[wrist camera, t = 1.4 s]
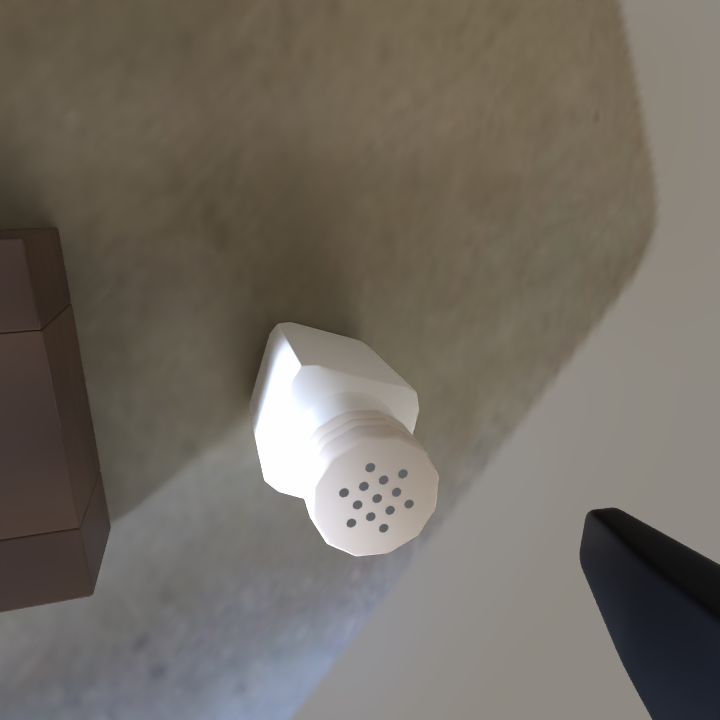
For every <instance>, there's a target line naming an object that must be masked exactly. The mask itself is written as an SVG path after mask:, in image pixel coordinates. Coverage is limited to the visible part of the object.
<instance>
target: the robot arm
mask: <svg viewBox="0 0 720 720" xmlns="http://www.w3.org/2000/svg"><path fill="white" fill-rule="evenodd" d="M580 563H581V566H582V569H583V571H584V574H585V576H586V579H587V581H588V584H589V586H590V588H591V591H592V593H593V596H594V598H595V600H596V603H597V605H598V607H599V610H600V612H601V614H602V617H603V619H604V622H605V624H606V626H607V629H608V631H609V633H610V636H611V638H612V640H613V643H614V645H615V648H616V650H617V652H618V654H619V656H620V659H621V661H622V663H623V665H624V667H625V669H626V671H627V673H628V675H629V677H630V679H631V681H632V683H633V685H634V686H635V688H636V690H637V692H638V694H639V696H640V698H641V700H642V701H643V703H644V705H645V706H646V708H647V711H648V712H649V714H650V716H651V718H652V720H720V565H719V564H718V563H716V562H714V561H712V560H710V559H709V558H707V557H705V556H703V555H701V554H699V553H698V552H696V551H694V550H692V549H690V548H689V547H687V546H685V545H683V544H681V543H680V542H678V541H676V540H674V539H672V538H671V537H669V536H667V535H665V534H663V533H662V532H660V531H658V530H656V529H654V528H652V527H651V526H649V525H647V524H645V523H643V522H642V521H640V520H638V519H636V518H634V517H633V516H631V515H629V514H627V513H625V512H624V511H622V510H620V509H617V508H605V509H595V510H591V511H590V512H588V514H587V515H586V519H585V524H584V529H583V535H582V541H581V547H580Z"/></svg>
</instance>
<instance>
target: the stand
mask: <svg viewBox="0 0 720 720" xmlns="http://www.w3.org/2000/svg"><path fill="white" fill-rule="evenodd" d="M70 302H71V300H70V295H69V289H68V283H67V278H66V272H65V266H64V261H63V255H62V249H61V244H60V238H59V232H58V229H57V228H36V229H14V230H0V612H6V611H11V610H17V609H22V608H28V607H33V606H39V605H44V604H50V603H55V602H61V601H66V600H72V599H78V598H83V597H89V596H92V595H93V592H94V589H95V585H96V581H97V577H98V574H99V570H100V566H101V562H102V558H103V555H104V551H105V547H106V543H107V540H108V536H109V532H110V528H111V527H110V522H109V516H108V510H107V505H106V499H105V493H104V488H103V482H102V477H101V472H100V464H99V458H98V453H97V447H96V441H95V436H94V430H93V424H92V419H91V413H90V407H89V402H88V396H87V390H86V385H85V379H84V373H83V368H82V362H81V356H80V351H79V345H78V339H77V334H76V328H75V322H74V317H73V311H72V305H71V304H70Z"/></svg>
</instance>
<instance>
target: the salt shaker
mask: <svg viewBox="0 0 720 720" xmlns="http://www.w3.org/2000/svg"><path fill="white" fill-rule="evenodd" d="M249 409H250V416H251V421H252V425H253V430H254V434H255V439H256V443H257V448H258V453H259V457H260V462H261V466H262V471H263V475H264V480H265V481H266V482H267V483H268V484H270V485H271V486H272V487H273V488H275V489H276V490H277V491H279V492H282V493H286V494H289V495H293V496H297V497H300V498H304V499H305V502H306V506H307V509H308V512H309V515H310V518H311V519H312V521H313V523H314V524H315V526H316V527H317V529H318V530H319V532H320V533H321V535H322V537H323V538H324V540H325V541H326V543H327V544H329V545H331V546H334V547H336V548H338V549H341V550H343V551H345V552H348V553H350V554H352V555H355V556H364V555H374V554H383V553H390V552H391V551H393V550H395V549H396V548H398V547H399V546H401V545H403V544H404V543H406V542H408V541H409V540H411V539H413V538H414V537H416V536H417V535H418V534H419V533H420V531H421V530H422V528H423V527H424V525H425V524H426V522H427V521H428V519H429V518H430V516H431V515H432V513H433V512H434V510H435V509H436V502H437V492H438V482H439V475H438V473H437V471H436V470H435V468H434V466H433V464H432V462H431V460H430V458H429V456H428V454H427V452H426V450H425V449H424V448H423V446H422V445H421V444H420V443H419V442H418V441H417V439H415V437H414V436H413V432H414V428H415V424H416V420H417V416H418V412H419V406H418V399H417V392H416V391H415V390H414V389H413V388H412V387H411V386H410V385H409V384H408V383H407V382H406V381H405V380H403V379H402V378H401V377H400V376H399V375H398V374H397V373H396V372H395V371H394V370H393V369H392V368H391V367H390V366H389V365H388V364H387V363H386V362H385V361H384V360H382V359H381V358H380V357H379V356H378V355H377V354H376V353H375V352H374V351H373V350H372V349H371V348H370V347H369V346H367V345H366V344H365V343H364V342H362V341H360V340H357V339H353V338H349V337H345V336H341V335H338V334H334V333H330V332H326V331H323V330H319V329H315V328H311V327H308V326H304V325H300V324H296V323H292V322H286V323H278V324H277V325H276V326H275V328H274V329H273V330H272V331H271V332H270V334H269V338H268V341H267V344H266V348H265V351H264V355H263V358H262V362H261V365H260V369H259V372H258V375H257V379H256V382H255V386H254V389H253V393H252V396H251V399H250V403H249Z"/></svg>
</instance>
